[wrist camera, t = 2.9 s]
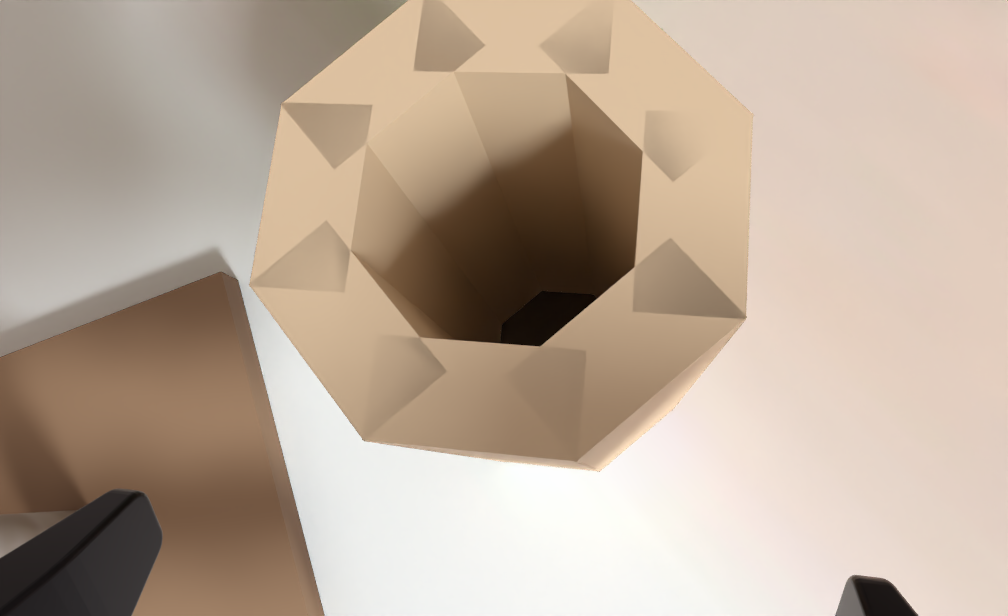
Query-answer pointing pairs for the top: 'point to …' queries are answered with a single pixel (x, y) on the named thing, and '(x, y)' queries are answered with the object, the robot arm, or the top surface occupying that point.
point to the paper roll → (508, 226)
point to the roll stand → (161, 450)
